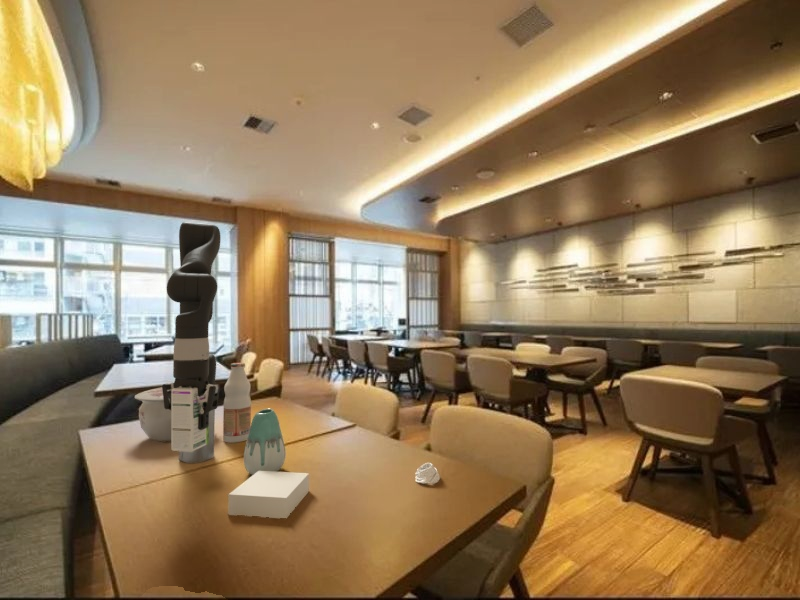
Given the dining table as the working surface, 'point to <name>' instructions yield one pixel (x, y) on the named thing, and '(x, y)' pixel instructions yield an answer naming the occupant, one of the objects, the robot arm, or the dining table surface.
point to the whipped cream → (427, 474)
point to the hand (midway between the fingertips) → (190, 427)
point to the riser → (269, 494)
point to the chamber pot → (154, 415)
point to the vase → (264, 443)
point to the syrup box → (186, 421)
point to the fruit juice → (237, 405)
